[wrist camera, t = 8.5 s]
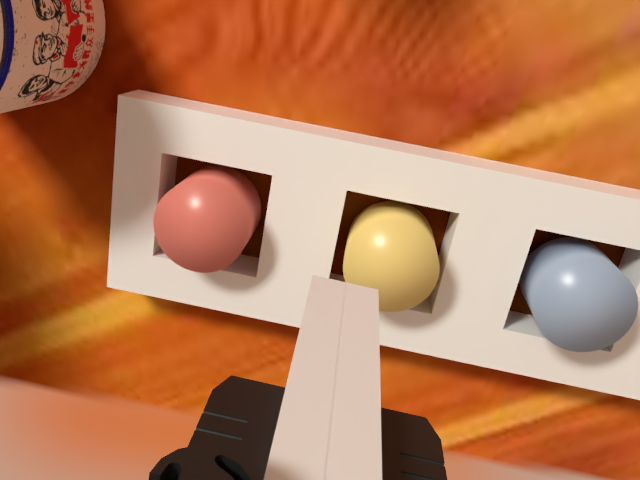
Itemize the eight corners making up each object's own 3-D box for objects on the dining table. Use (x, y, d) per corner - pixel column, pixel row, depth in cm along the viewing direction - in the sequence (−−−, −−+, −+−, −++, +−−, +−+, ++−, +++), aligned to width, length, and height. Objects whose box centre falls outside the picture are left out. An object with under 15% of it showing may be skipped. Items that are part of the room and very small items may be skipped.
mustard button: (340, 271, 31) (334, 301, 28) (356, 192, 30) (352, 214, 27) (422, 288, 31) (426, 320, 28) (443, 210, 30) (450, 233, 26)
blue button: (508, 306, 31) (523, 341, 28) (534, 229, 30) (553, 255, 26) (592, 324, 31) (617, 361, 28) (622, 246, 29) (653, 275, 26)
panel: (126, 268, 34) (106, 286, 31) (138, 89, 30) (117, 94, 28) (621, 373, 33) (640, 400, 30) (694, 200, 29) (721, 216, 27)
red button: (174, 237, 32) (149, 262, 28) (182, 157, 30) (157, 173, 27) (255, 253, 32) (239, 281, 28) (267, 174, 30) (252, 193, 27)
